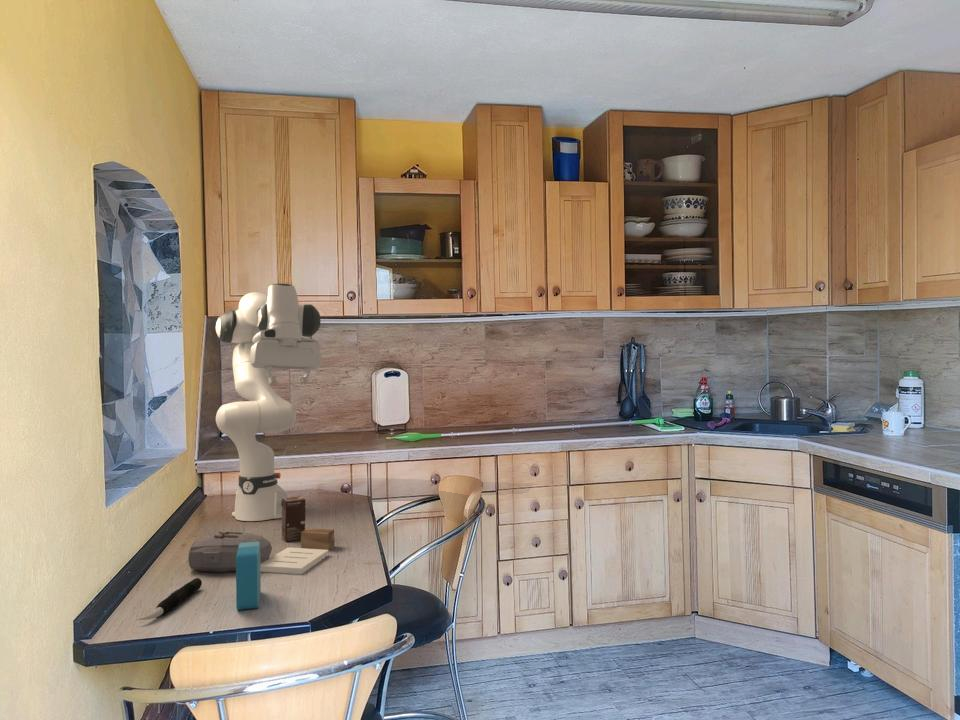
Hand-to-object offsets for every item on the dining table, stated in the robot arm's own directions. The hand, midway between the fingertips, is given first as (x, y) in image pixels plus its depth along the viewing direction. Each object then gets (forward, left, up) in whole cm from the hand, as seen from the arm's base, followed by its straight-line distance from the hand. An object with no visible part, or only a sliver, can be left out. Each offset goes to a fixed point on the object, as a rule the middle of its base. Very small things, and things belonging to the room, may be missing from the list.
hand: (288, 383), depth 191 cm
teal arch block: (+40, +11, -47) cm, 63 cm away
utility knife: (+46, -4, -47) cm, 66 cm away
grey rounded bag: (+18, -7, -47) cm, 50 cm away
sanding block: (-1, +8, -47) cm, 47 cm away
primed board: (+13, +8, -46) cm, 49 cm away
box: (-8, -3, -47) cm, 47 cm away
